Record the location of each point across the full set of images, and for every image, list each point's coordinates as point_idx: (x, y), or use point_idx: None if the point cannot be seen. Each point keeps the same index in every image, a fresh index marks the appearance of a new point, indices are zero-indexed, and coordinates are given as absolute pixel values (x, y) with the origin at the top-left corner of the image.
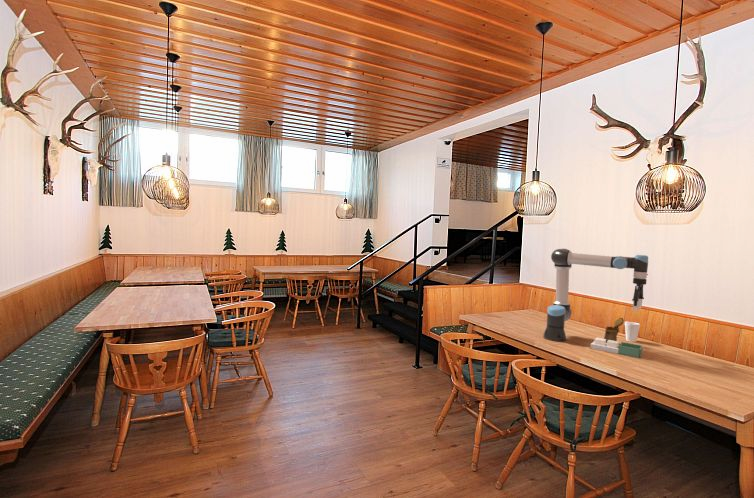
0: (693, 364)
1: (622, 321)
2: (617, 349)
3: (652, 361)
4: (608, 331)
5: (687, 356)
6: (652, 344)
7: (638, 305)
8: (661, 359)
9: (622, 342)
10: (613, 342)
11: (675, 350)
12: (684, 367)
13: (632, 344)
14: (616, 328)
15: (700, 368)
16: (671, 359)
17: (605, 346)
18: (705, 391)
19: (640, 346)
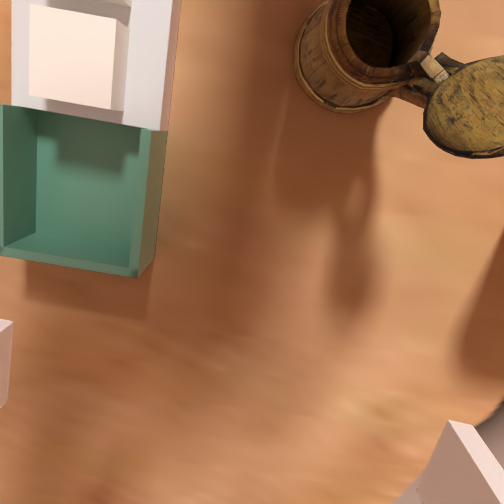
0: (121, 473)
1: (465, 145)
2: (13, 99)
3: (11, 298)
4: (327, 3)
5: (286, 476)
6: (496, 345)
7: (466, 498)
8: (103, 348)
9: (140, 138)
10: (37, 60)
11: (400, 444)
12: (19, 428)
13: (134, 211)
14: (408, 84)
15: (63, 487)
16: (147, 395)
17: (23, 3)
18: None
19: (131, 262)
